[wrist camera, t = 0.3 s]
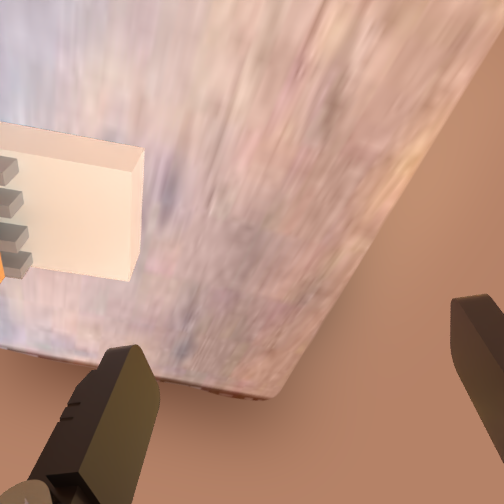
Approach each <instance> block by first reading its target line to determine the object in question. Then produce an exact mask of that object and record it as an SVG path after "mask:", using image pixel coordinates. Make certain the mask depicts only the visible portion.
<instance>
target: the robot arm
mask: <svg viewBox="0 0 504 504" xmlns="http://www.w3.org/2000/svg"><path fill="white" fill-rule="evenodd" d="M450 327H451V332H450V336H451V337H450V346H451V355H452V359H453V363H454V366H455V368H456V371H457V373H458V375H459V377H460V379H461V381H462V383H463V385H464V387H465V389H466V391H467V393H468V395H469V396H470V399H471V401H472V402H473V404H474V406H475V408H476V410H477V412H478V414H479V416H480V418H481V420H482V422H483V424H484V426H485V428H486V430H487V432H488V434H489V436H490V438H491V440H492V442H493V443H494V445H495V447H496V449H497V451H498V453H499V455H500V457H501V459H502V461H503V463H504V314H503V313H502V311H501V310H500V309H499V307H498V306H497V305H496V303H495V302H494V301H493V300H492V298H491V297H490V296H489V295H488V294H481V295H474V296H467V297H460V298H454V299H452V301H451V325H450ZM159 405H160V392H159V387H158V384H157V381H156V379H155V377H154V375H153V373H152V371H151V368H150V366H149V364H148V362H147V360H146V358H145V356H144V353H143V351H142V349H141V348H140V347H139V346H138V345H129V346H122V347H115V348H110V349H108V350H107V351H106V352H105V354H104V356H103V358H102V360H101V362H100V364H99V366H98V368H97V370H92V371H91V372H90V373H89V374H88V375H87V376H86V377H85V378H84V379H83V380H82V381H81V382H80V383H79V384H78V385H77V387H76V388H75V390H74V392H73V394H72V396H71V398H70V400H69V402H68V407H66V408H65V409H64V411H63V413H62V415H61V417H60V422H58V423H57V425H56V427H55V429H54V430H53V432H52V434H51V436H50V438H49V440H48V442H47V444H46V446H45V447H44V449H43V451H42V453H41V455H40V457H39V459H38V461H37V463H36V465H35V467H34V468H33V470H32V472H31V474H30V476H29V478H28V479H27V481H24V482H21V483H19V484H17V485H15V486H13V487H11V488H10V489H8V490H7V491H5V492H4V493H3V494H2V495H1V496H0V504H131V503H132V500H133V496H134V493H135V489H136V486H137V482H138V479H139V476H140V472H141V468H142V465H143V461H144V458H145V455H146V451H147V447H148V444H149V441H150V437H151V434H152V430H153V427H154V423H155V420H156V416H157V413H158V410H159Z"/></svg>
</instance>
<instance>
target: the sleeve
mask: <svg viewBox="0 0 504 504" xmlns="http://www.w3.org/2000/svg"><path fill="white" fill-rule="evenodd" d="M4 278H5V274H4V269H3V265H2V260H1V255H0V283H1V282H2V280H3V279H4Z"/></svg>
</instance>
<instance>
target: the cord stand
mask: <svg viewBox="0 0 504 504" xmlns="http://www.w3.org/2000/svg"><path fill="white" fill-rule="evenodd" d="M144 151H145V148H142V147H136V146H131V145H126V144H120V143H115V142H109V141H104V140H98V139H93V138H88V137H82V136H77V135H71V134H66V133H60V132H55V131H50V130H44V129H39V128H33V127H28V126H23V125H17V124H12V123H6V122H1V121H0V255H1V260H2V265H3V269H4V274H5V277H11V278H17V279H22V278H23V277H24V275H25V274H26V272H27V271H28V269H29V268H30V267H35V268H42V269H49V270H55V271H62V272H69V273H76V274H82V275H89V276H96V277H103V278H109V279H116V280H123V281H130V278H131V275H132V273H133V270H134V267H135V264H136V262H137V259H138V256H139V253H140V242H141V219H142V197H143V174H144Z"/></svg>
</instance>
